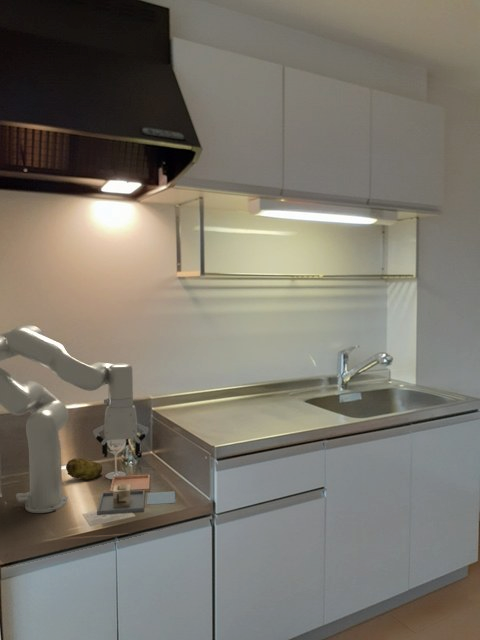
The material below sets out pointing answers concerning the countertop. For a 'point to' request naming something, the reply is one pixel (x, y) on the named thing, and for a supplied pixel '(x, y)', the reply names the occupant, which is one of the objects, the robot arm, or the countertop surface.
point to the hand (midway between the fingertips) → (121, 455)
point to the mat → (161, 498)
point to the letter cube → (121, 495)
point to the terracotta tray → (132, 482)
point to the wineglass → (115, 455)
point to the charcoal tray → (108, 508)
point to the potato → (83, 469)
